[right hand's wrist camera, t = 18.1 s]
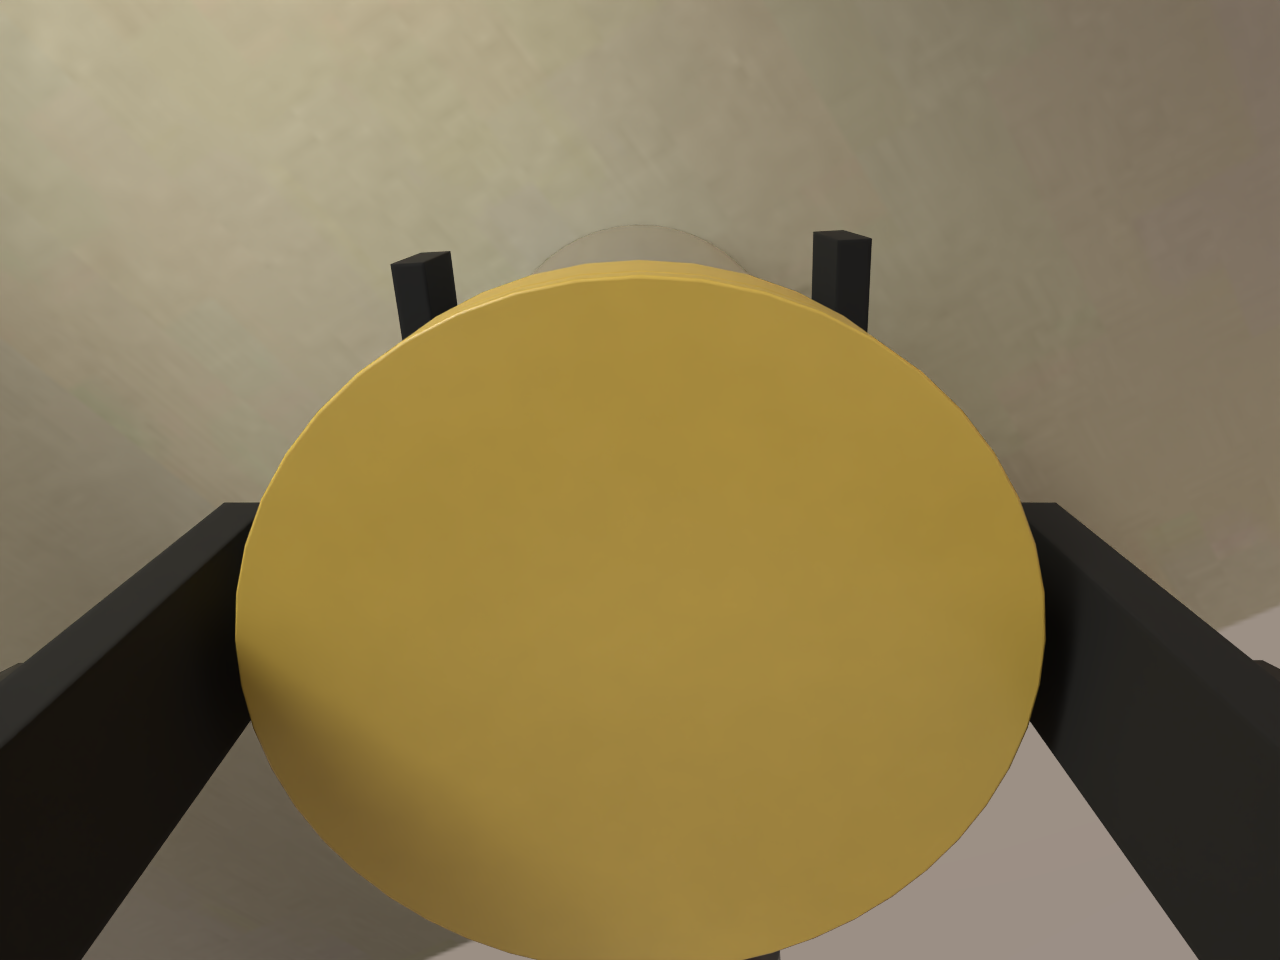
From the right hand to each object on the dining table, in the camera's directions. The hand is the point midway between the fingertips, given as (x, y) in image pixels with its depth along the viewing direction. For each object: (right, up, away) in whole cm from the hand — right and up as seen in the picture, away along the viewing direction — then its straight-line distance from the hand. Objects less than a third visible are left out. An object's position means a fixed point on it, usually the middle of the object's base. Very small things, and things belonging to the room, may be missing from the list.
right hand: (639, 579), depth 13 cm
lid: (0, -1, -2) cm, 3 cm away
